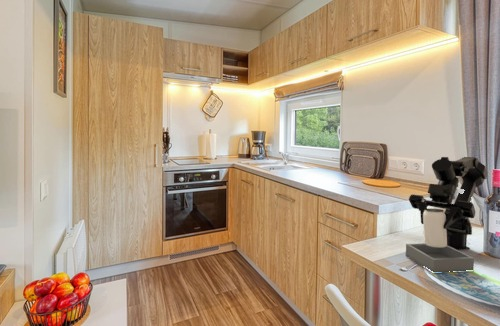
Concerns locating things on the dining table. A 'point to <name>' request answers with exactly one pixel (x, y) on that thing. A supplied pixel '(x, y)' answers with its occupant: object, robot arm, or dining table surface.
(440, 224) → the can
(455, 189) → the robot arm
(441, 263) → the tote
